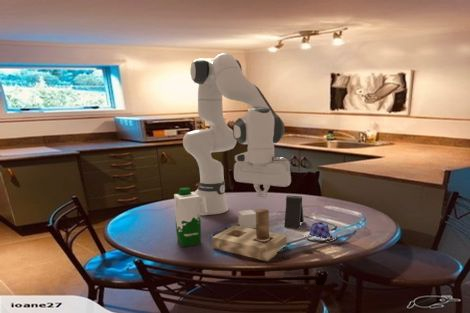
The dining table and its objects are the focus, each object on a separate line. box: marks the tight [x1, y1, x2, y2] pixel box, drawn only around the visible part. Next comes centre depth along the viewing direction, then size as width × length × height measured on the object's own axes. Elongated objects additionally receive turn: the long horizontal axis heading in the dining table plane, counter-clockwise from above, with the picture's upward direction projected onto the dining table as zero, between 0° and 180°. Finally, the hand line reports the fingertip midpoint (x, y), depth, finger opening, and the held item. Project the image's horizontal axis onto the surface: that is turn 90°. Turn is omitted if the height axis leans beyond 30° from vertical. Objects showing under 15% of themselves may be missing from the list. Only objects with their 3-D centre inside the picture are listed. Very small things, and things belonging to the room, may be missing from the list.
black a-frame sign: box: [284, 195, 305, 229], centre depth 146 cm, size 9×6×12 cm, turn 156°
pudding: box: [303, 221, 337, 243], centre depth 133 cm, size 12×12×5 cm
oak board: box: [211, 224, 288, 262], centre depth 125 cm, size 22×14×4 cm, turn 56°
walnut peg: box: [255, 208, 270, 243], centre depth 122 cm, size 5×5×14 cm
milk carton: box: [173, 186, 202, 248], centre depth 131 cm, size 9×9×20 cm
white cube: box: [237, 209, 256, 229], centre depth 147 cm, size 6×6×6 cm
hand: (262, 196), depth 120 cm, fingers closed
